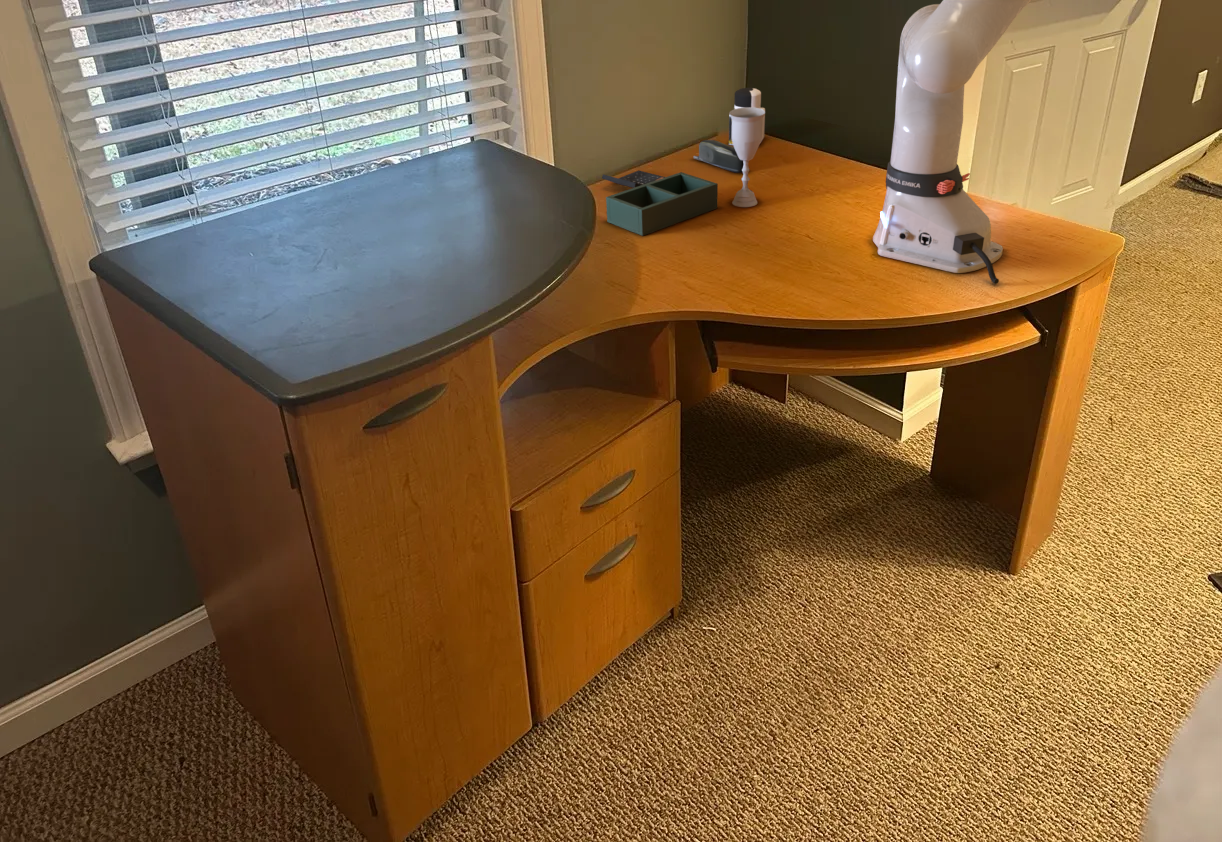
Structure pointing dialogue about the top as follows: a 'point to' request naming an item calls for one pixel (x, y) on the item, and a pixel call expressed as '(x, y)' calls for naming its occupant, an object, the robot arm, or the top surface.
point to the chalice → (746, 147)
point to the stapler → (720, 155)
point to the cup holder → (661, 203)
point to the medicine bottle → (747, 105)
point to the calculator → (634, 179)
